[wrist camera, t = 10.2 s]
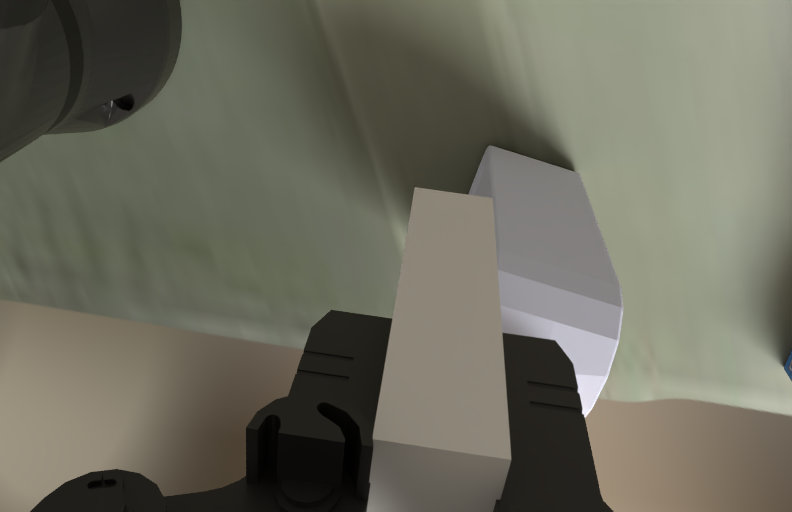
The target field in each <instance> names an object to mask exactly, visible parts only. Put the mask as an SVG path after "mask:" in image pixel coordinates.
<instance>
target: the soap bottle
mask: <svg viewBox="0 0 792 512" xmlns="http://www.w3.org/2000/svg"><path fill="white" fill-rule="evenodd" d="M468 195H474V196H481V197H489V198H493V211H494V224H495V238H496V252H497V266H498V280H499V294H500V308H501V322H502V333H509V334H516V335H523V336H530V337H537V338H543V339H550V340H556V342H557V343H558V344H559V346H560V347H561V348H562V350H563V351H564V352H565V354H566V355H567V356H568V357H569V359H570V360H571V361H572V363H573V365H574V370H575V375H576V380H577V384H578V393H579V394H580V399H581V403H582V408H583V410H582V414H584V418H585V417H586V416H587V414H588V413H589V412H590V411H591V409H592V408H593V406H594V404H595V402H596V400H597V398H598V396H599V394H600V392H601V390H602V388H603V386H604V384H605V382H606V380H607V378H608V375H609V372H610V369H611V365H612V362H613V359H614V356H615V353H616V349H617V346H618V343H619V338H620V330H621V323H622V316H623V301H622V291H621V286H620V284H619V281H618V278H617V275H616V272H615V270H614V267H613V264H612V261H611V259H610V256H609V253H608V250H607V248H606V245H605V242H604V239H603V237H602V234H601V231H600V228H599V226H598V223H597V220H596V217H595V215H594V212H593V209H592V206H591V204H590V201H589V198H588V195H587V193H586V190H585V187H584V184H583V181H582V179H581V176H580V174H579V173H577V172H574V171H571V170H567V169H564V168H561V167H558V166H555V165H552V164H548V163H545V162H542V161H539V160H536V159H533V158H529V157H526V156H523V155H520V154H517V153H514V152H511V151H507V150H504V149H501V148H498V147H495V146H492V145H490V146H488V147H487V149H486V151H485V153H484V155H483V158H482V160H481V163H480V165H479V168H478V170H477V173H476V176H475V178H474V181H473V183H472V186H471V188H470V191H469V194H468Z"/></svg>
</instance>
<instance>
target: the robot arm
mask: <svg viewBox="0 0 792 512" xmlns="http://www.w3.org/2000/svg"><path fill="white" fill-rule="evenodd" d="M181 30H182V21H181V8H180V1H179V0H0V162H2V161H3V160H5V159H6V158H8V157H9V156H11V155H13V154H14V153H16V152H17V151H19V150H20V149H22V148H24V147H25V146H27V145H28V144H30V143H31V142H33V141H34V140H36V139H37V138H39V137H40V136H42V135H46V134H62V133H78V132H89V131H95V130H99V129H103V128H106V127H109V126H112V125H114V124H117V123H119V122H121V121H123V120H125V119H126V118H128V117H130V116H131V115H133V114H134V113H135V112H137V111H138V110H139V109H141V108H142V107H144V106H145V105H146V104H147V103H149V102H150V101H151V100H152V99H153V98H154V97H155V96H156V95H157V94H158V93H159V92H160V91H161V89H162V88H163V87H164V85H165V84H166V82H167V80H168V79H169V77H170V75H171V73H172V71H173V68H174V66H175V63H176V60H177V57H178V53H179V48H180V42H181ZM582 410H583V408H582V403H581V399H580V394H579V393H578V384H577V380H576V375H575V370H574V365H573V363H572V361H571V360H570V359H569V357H568V356H567V355H566V354H565V352H564V351H563V350H562V348H561V347H560V346H559V344H558V343H557V342H556V340H550V339H543V338H537V337H530V336H523V335H516V334H509V333H502V322H501V308H500V294H499V280H498V266H497V252H496V238H495V224H494V211H493V198H489V197H481V196H474V195H467V194H460V193H453V192H446V191H438V190H431V189H424V188H417V187H415V189H414V195H413V201H412V207H411V213H410V219H409V224H408V230H407V236H406V242H405V248H404V254H403V260H402V266H401V272H400V278H399V283H398V289H397V295H396V301H395V307H394V313H393V319H390V318H383V317H376V316H369V315H363V314H356V313H349V312H342V311H335V310H331V311H330V312H328V313H327V314H326V315H325V316H324V317H323V318H322V319H321V320H320V321H318V322H317V323H316V324H315V325H314V326H313V327H312V328H311V331H310V334H309V337H308V340H307V342H306V345H305V348H304V353H303V355H302V357H301V360H300V363H299V366H298V369H297V374H296V375H295V378H294V381H293V383H292V386H291V389H290V392H289V395H288V396H287V397H284V398H280V399H276V400H274V401H273V402H271V403H270V404H268V405H267V406H265V407H264V408H262V409H261V410H259V411H258V412H257V413H256V414H255V416H254V417H253V419H252V420H251V422H250V423H249V424H248V426H247V427H246V476H245V477H244V478H242V479H241V480H239V481H237V482H234V483H232V484H230V485H227V486H225V487H223V488H218V489H214V490H209V491H205V492H198V493H190V494H183V495H175V496H167V497H163V495H162V493H161V492H160V490H159V488H158V486H157V484H155V483H154V482H152V481H150V480H149V479H147V478H146V477H144V476H143V475H141V474H140V473H135V472H129V471H124V470H118V469H115V470H106V471H97V472H90V473H88V474H85V475H83V476H80V477H78V478H75V479H73V480H70V481H68V482H65V483H64V484H63V485H61V486H60V487H58V488H57V489H56V490H55V491H53V492H52V493H50V494H49V495H48V496H46V497H45V498H44V499H43V500H42V501H41V502H40V503H39V504H37V506H35V507H34V509H32V510H31V511H30V512H613V511H612V510H611V508H610V507H609V506H608V505H607V504H606V503H605V502H603V499H602V497H601V494H600V489H599V484H598V479H597V475H596V470H595V465H594V461H593V456H592V451H591V446H590V441H589V437H588V432H587V427H586V422H585V418H584V414H582Z"/></svg>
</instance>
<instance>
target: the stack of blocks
mask: <svg viewBox="0 0 792 512" xmlns="http://www.w3.org/2000/svg"><path fill="white" fill-rule="evenodd" d="M784 370H785V371H786V373H787V374H788V376H789V377H790V379H791V381H792V351H791V353H790V355H789V357H788V360H787V362H786V364H785V366H784Z"/></svg>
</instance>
